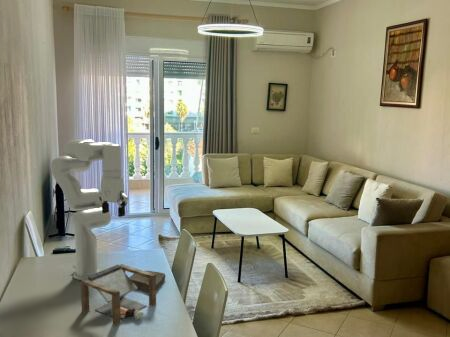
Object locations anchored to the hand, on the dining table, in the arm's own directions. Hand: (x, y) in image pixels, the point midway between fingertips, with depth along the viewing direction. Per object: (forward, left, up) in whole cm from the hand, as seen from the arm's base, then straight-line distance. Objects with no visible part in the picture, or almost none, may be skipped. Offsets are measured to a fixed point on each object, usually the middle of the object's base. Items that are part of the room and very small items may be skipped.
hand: (113, 214), depth 179 cm
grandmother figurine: (+14, -14, -33) cm, 38 cm away
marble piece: (+5, +13, -35) cm, 38 cm away
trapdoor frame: (+12, -9, -34) cm, 37 cm away
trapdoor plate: (+8, -9, -25) cm, 28 cm away
